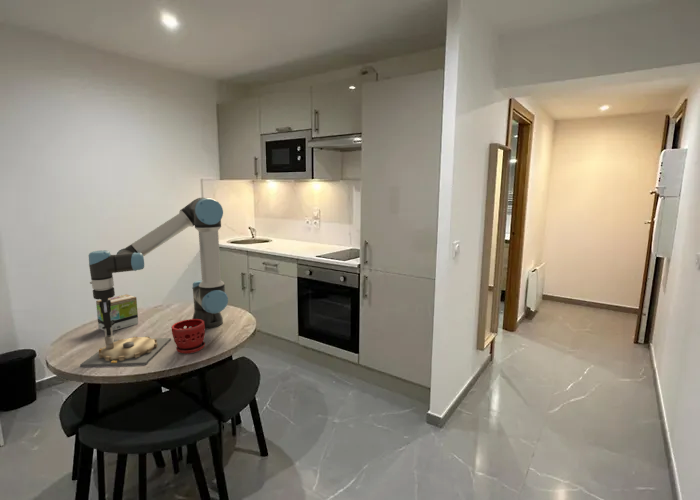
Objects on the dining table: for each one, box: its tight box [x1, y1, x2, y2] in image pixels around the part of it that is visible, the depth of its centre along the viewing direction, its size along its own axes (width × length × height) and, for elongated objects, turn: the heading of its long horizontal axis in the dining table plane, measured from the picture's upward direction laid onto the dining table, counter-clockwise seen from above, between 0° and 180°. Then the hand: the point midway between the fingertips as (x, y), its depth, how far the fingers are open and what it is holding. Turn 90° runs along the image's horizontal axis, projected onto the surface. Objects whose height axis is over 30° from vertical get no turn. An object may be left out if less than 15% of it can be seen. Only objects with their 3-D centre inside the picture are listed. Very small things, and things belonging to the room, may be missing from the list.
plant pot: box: [171, 318, 206, 355], centre depth 165 cm, size 13×13×12 cm
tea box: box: [95, 293, 139, 332], centre depth 193 cm, size 15×10×15 cm
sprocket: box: [98, 335, 157, 361], centre depth 162 cm, size 22×22×6 cm
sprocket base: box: [79, 337, 172, 368], centre depth 163 cm, size 25×25×2 cm
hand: (109, 341), depth 162 cm, fingers closed
